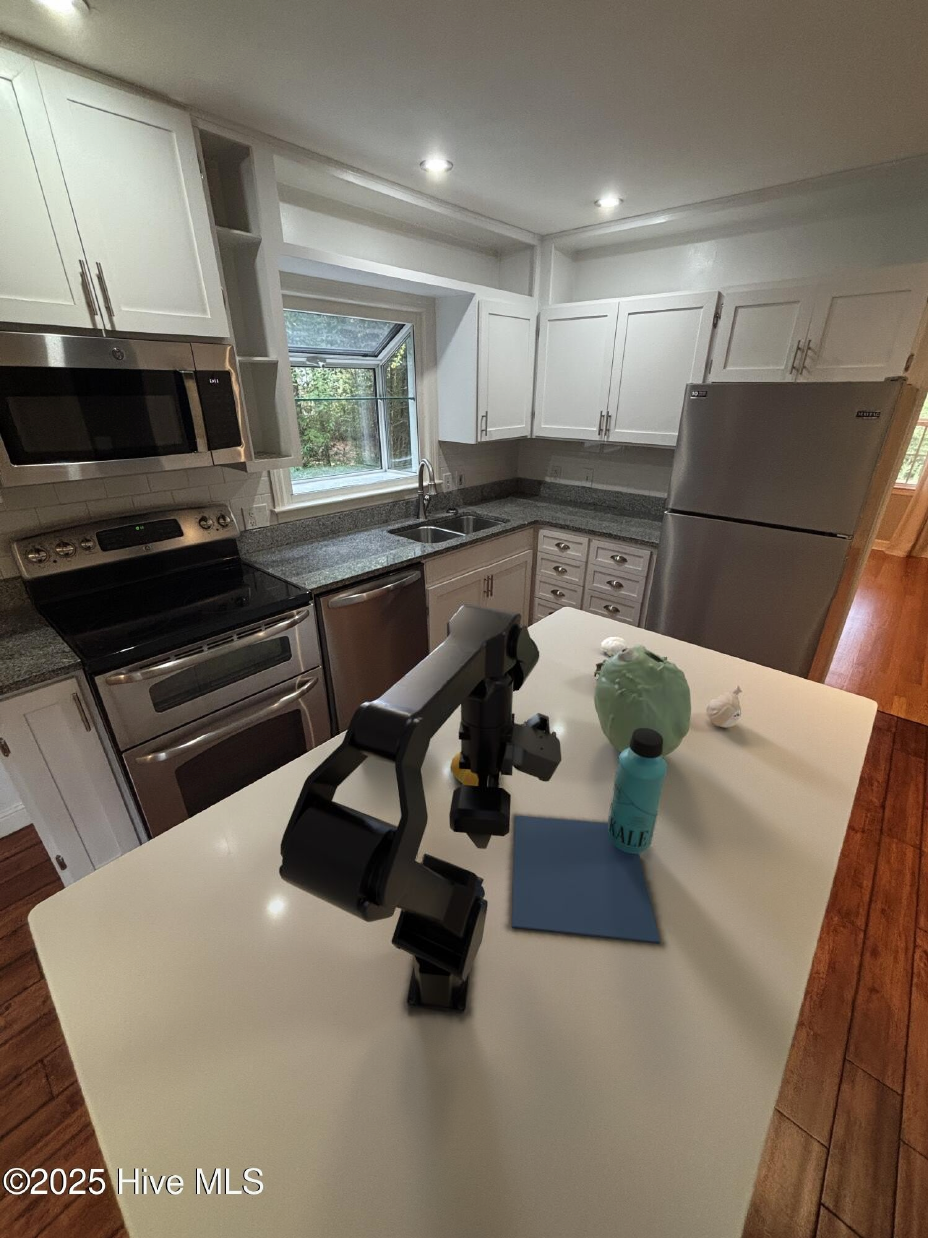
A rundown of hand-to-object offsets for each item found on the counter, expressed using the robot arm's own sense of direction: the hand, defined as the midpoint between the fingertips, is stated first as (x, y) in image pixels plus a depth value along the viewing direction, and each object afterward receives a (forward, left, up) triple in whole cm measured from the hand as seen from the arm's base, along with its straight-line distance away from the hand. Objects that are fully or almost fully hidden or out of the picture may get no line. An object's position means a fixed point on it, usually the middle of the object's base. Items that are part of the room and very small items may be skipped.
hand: (484, 817), depth 62 cm
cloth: (+4, -13, -13) cm, 19 cm away
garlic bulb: (+42, -45, -13) cm, 63 cm away
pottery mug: (+53, -27, -13) cm, 61 cm away
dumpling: (+70, -28, -13) cm, 76 cm away
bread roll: (+22, +3, -13) cm, 26 cm away
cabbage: (+32, -26, -13) cm, 43 cm away
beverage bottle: (+9, -21, -13) cm, 26 cm away
